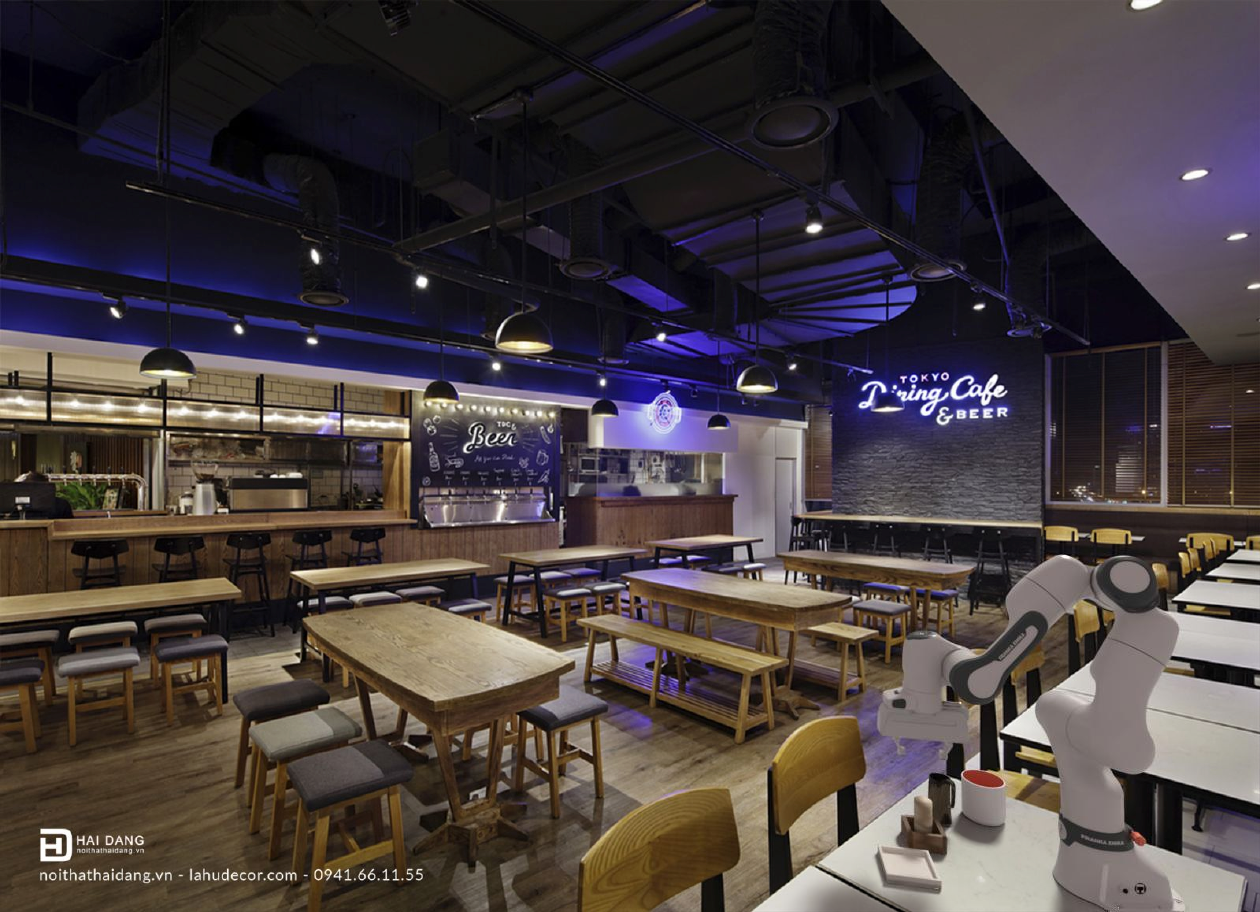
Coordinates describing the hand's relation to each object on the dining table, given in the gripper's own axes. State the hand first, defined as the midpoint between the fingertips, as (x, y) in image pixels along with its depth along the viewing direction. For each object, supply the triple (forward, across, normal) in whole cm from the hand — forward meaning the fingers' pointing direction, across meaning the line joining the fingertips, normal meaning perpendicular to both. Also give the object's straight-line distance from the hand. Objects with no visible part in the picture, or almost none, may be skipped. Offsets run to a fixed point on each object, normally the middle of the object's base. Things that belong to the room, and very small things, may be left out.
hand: (922, 756), depth 151 cm
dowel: (+20, 0, 0) cm, 20 cm away
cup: (+20, -18, -15) cm, 31 cm away
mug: (+21, -7, -10) cm, 24 cm away
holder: (+20, 0, 0) cm, 20 cm away
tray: (+20, +6, +12) cm, 24 cm away
